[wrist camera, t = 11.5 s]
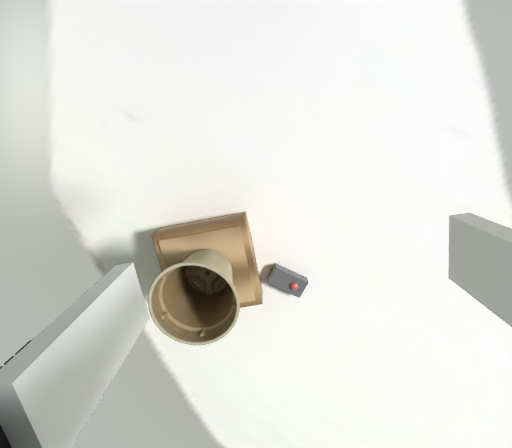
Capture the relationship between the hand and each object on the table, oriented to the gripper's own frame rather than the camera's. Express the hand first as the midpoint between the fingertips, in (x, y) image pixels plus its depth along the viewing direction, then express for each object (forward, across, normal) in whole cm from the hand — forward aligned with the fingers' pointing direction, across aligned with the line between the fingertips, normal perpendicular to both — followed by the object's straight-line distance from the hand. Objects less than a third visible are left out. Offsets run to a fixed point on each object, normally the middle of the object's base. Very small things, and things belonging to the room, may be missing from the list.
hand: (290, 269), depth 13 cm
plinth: (+28, -10, -10) cm, 32 cm away
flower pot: (+25, -10, -10) cm, 28 cm away
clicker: (+28, 0, -15) cm, 32 cm away
